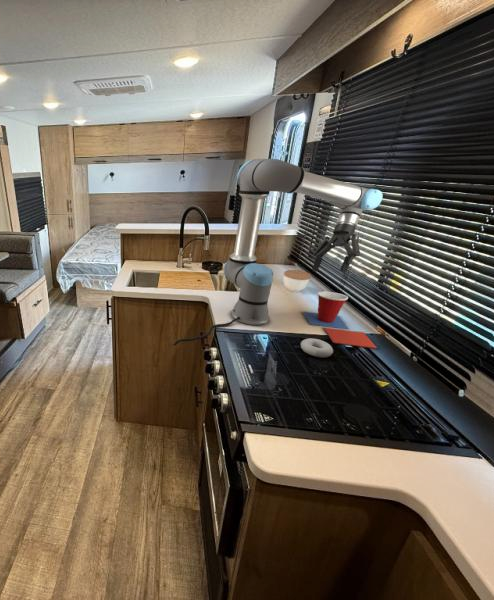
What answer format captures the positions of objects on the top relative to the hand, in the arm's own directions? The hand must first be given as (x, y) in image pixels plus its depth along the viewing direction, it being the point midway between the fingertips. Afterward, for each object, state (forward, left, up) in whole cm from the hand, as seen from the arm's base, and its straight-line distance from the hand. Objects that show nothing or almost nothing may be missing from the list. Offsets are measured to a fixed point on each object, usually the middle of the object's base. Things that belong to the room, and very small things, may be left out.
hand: (328, 271), depth 136 cm
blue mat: (-8, -7, -19) cm, 22 cm away
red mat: (-16, -20, -19) cm, 32 cm away
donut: (-37, -18, -19) cm, 46 cm away
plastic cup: (-8, -7, -19) cm, 22 cm away
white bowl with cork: (+17, +20, -19) cm, 33 cm away
